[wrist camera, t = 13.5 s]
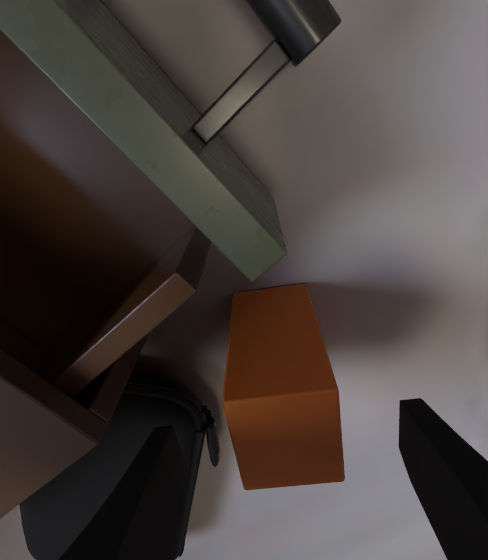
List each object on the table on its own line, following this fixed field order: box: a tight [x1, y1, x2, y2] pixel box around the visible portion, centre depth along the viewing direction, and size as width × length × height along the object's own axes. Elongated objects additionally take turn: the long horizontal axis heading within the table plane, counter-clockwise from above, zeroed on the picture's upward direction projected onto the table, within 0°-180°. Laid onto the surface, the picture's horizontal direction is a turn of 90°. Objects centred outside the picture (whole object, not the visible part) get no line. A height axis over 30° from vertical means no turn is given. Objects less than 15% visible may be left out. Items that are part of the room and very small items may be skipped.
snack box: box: [222, 284, 345, 490], centre depth 14 cm, size 3×4×7 cm
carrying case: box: [20, 374, 220, 560], centre depth 20 cm, size 11×3×15 cm
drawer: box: [0, 0, 341, 398], centre depth 11 cm, size 17×12×6 cm
